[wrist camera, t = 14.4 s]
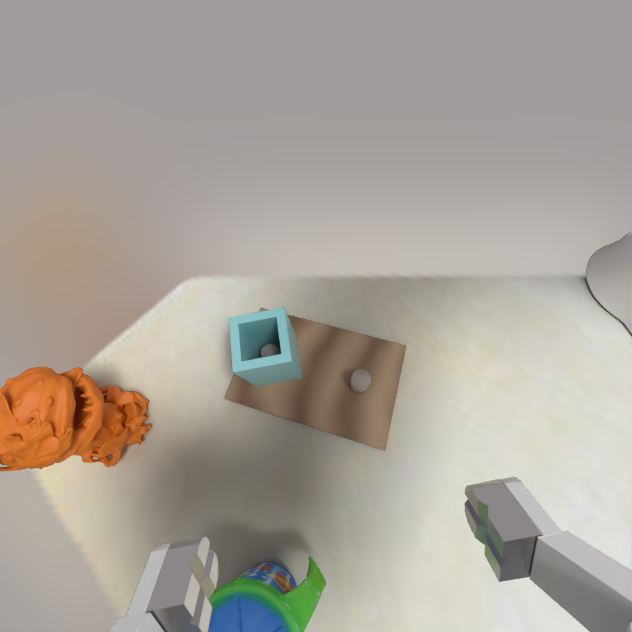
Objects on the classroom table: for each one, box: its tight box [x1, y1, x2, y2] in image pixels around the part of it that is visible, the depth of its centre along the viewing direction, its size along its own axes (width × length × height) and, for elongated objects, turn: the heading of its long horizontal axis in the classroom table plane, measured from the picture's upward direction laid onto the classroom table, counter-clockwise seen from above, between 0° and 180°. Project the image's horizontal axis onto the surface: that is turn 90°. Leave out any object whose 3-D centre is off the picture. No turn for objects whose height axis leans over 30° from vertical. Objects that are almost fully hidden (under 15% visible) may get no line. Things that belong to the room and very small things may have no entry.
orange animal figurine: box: [0, 367, 151, 471], centre depth 33 cm, size 11×11×18 cm
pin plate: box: [225, 308, 406, 451], centre depth 40 cm, size 22×14×6 cm, turn 73°
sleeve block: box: [229, 307, 302, 387], centre depth 37 cm, size 6×6×10 cm
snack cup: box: [208, 557, 326, 632], centre depth 29 cm, size 16×10×10 cm
